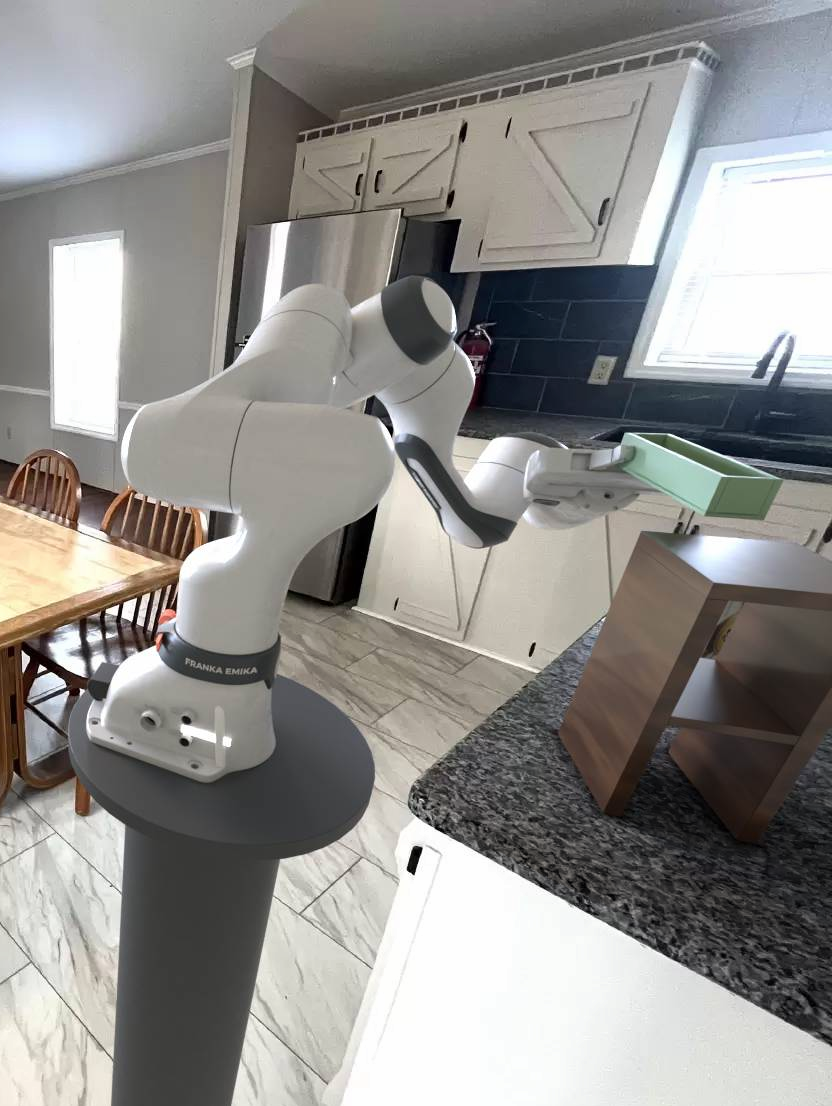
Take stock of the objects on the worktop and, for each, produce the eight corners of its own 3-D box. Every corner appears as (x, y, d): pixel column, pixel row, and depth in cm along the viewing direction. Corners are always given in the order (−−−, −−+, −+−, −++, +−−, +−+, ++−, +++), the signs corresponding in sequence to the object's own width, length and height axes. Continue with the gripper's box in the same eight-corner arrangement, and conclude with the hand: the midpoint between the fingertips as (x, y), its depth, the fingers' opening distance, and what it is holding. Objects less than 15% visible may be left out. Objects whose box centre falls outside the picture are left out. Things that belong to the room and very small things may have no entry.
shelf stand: (602, 813, 65) (714, 582, 54) (557, 733, 77) (641, 530, 65) (756, 844, 61) (912, 601, 50) (684, 755, 72) (796, 542, 61)
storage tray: (703, 516, 62) (721, 476, 60) (613, 464, 80) (624, 432, 79) (764, 520, 61) (784, 479, 59) (657, 466, 79) (670, 433, 77)
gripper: (691, 512, 84) (771, 485, 71) (510, 499, 91) (552, 473, 78) (696, 466, 85) (777, 431, 72) (515, 457, 92) (559, 423, 79)
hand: (658, 452), depth 75 cm, fingers closed on storage tray, 4 cm apart
